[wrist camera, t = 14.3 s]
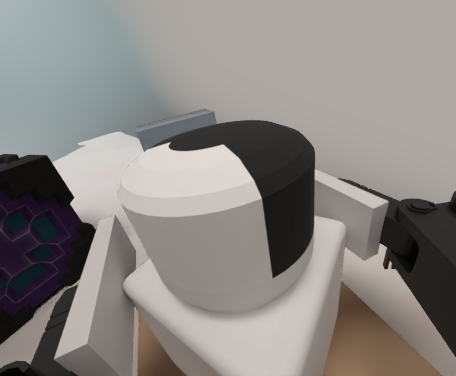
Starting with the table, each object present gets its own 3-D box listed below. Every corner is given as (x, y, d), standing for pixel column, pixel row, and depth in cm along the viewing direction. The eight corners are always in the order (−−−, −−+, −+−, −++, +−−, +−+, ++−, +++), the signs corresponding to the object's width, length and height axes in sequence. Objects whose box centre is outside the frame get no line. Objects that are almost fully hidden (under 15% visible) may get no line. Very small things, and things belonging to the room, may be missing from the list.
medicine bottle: (239, 268, 16) (201, 113, 11) (338, 313, 12) (362, 99, 7) (172, 362, 12) (41, 175, 6) (296, 485, 8) (252, 262, 2)
